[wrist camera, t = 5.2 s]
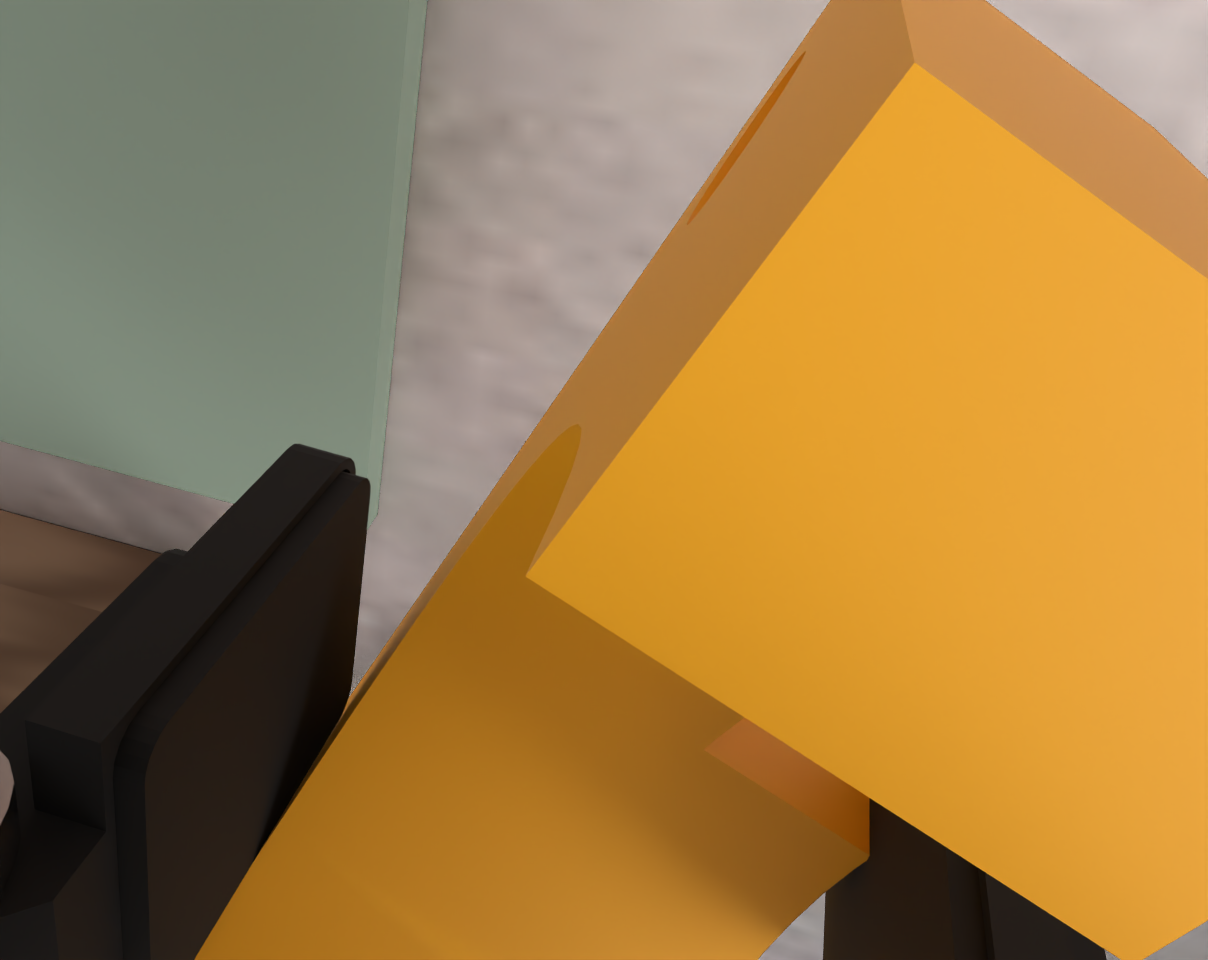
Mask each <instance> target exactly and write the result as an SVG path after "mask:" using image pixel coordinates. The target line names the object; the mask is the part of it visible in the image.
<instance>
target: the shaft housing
mask: <svg viewBox="0 0 1208 960" xmlns="http://www.w3.org/2000/svg"><path fill="white" fill-rule="evenodd" d="M160 555H162V554H160V553H156V552H152V551H149V550H145V549H141V548H138V547H134V546H130V545H127V544H123V543H119V542H116V541H112V540H108V539H105V538H101V537H97V536H94V535H90V534H86V533H83V532H79V531H75V530H72V529H68V528H64V527H61V526H57V525H54V524H50V523H46V522H43V521H39V520H35V519H32V518H28V517H24V516H21V515H17V514H13V513H10V512H6V511H2V510H0V713H1V712H2V711H3V710H4V709H5V708H6V707H7V706H8V705H9V704H10V703H11V702H12V701H13V700H14V699H15V698H16V697H17V696H18V695H19V694H20V693H21V692H22V691H23V690H24V689H25V688H26V687H27V686H28V685H29V684H30V683H31V682H32V681H33V680H34V679H35V678H36V677H37V676H38V675H39V674H40V673H41V672H42V671H43V670H44V669H45V668H46V667H47V666H48V665H49V664H50V663H51V662H52V661H53V660H54V659H55V658H56V657H57V656H58V655H59V654H60V653H61V652H63V651H64V650H65V649H66V648H67V647H68V646H69V645H70V644H71V643H72V642H73V641H74V640H75V639H76V638H77V637H78V636H79V635H80V634H81V633H82V632H83V631H84V630H85V629H86V628H87V627H88V626H89V625H90V624H91V623H92V622H93V621H94V620H95V619H96V618H97V617H98V616H99V615H100V614H101V613H102V612H103V611H104V610H105V609H106V608H107V607H108V606H109V605H110V604H111V603H112V602H113V601H114V600H115V599H116V598H117V597H118V596H119V595H120V594H121V593H122V592H123V591H124V590H125V589H126V588H127V587H128V586H129V585H130V584H131V583H132V582H133V581H134V580H135V579H136V578H137V577H138V576H139V575H140V574H141V573H142V572H143V571H144V570H145V569H146V568H147V567H148V566H149V565H150V564H151V563H152V562H153V561H154V560H155V559H157V558H158V557H159V556H160Z"/></svg>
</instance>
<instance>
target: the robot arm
mask: <svg viewBox="0 0 1208 960" xmlns="http://www.w3.org/2000/svg"><path fill="white" fill-rule="evenodd" d="M370 493H371V485H370V481H369V480H368V478H365V477H361V476H357V475H356V468H355V463H354V461H353V460H352V459H351V458H349V457H345V456H342V455H338V454H334V453H331V452H327V451H324V450H320V449H317V448H313V447H310V446H306V445H303V444H293V445H292V446H290V447H289V448H288V449H287V450H286V451H285V452H284V453H283V454H282V455H281V456H280V457H279V458H278V459H277V460H276V461H275V462H274V463H273V464H272V465H271V466H270V467H269V468H268V469H267V470H266V471H265V472H264V474H263V475H262V476H261V477H260V478H259V479H258V480H257V481H256V482H255V483H254V484H253V485H252V486H251V487H250V488H249V489H248V490H247V491H246V492H245V493H244V494H243V495H242V496H241V497H240V498H239V499H238V500H237V501H236V502H235V503H234V504H233V505H232V507H231V508H230V509H229V510H228V511H227V512H226V513H225V514H224V515H223V516H222V517H221V518H220V519H219V520H218V521H217V522H216V523H215V524H214V525H213V526H212V527H211V528H210V529H209V530H208V531H207V532H206V533H205V534H204V535H203V536H202V537H201V538H200V539H199V541H198V542H197V543H196V544H195V545H194V546H193V547H192V548H191V549H190V550H189V551H188V552H186V551H183V550H180V549H173V550H169V551H166V552H164V553H163V554H162V555H160V556H159V557H158V558H157V559H155V560H154V561H153V562H152V563H151V564H150V565H149V566H148V567H147V568H146V569H145V570H144V571H143V572H142V573H141V574H140V575H139V576H138V577H137V578H136V579H135V580H134V581H133V582H132V583H131V584H130V585H129V586H128V587H127V588H126V589H125V590H124V591H123V592H122V593H121V594H120V595H119V596H118V597H117V598H116V599H115V600H114V601H113V602H112V603H111V604H110V605H109V606H108V607H107V608H106V609H105V610H104V611H103V612H102V613H101V614H100V615H99V616H98V617H97V618H96V619H95V620H94V621H93V622H92V623H91V624H90V625H89V626H88V627H87V628H86V629H85V630H84V631H83V632H82V633H81V634H80V635H79V636H78V637H77V638H76V639H75V640H74V641H73V642H72V643H71V644H70V645H69V646H68V647H67V648H66V649H65V650H64V651H63V652H61V653H60V654H59V655H58V656H57V657H56V658H55V659H54V660H53V661H52V662H51V663H50V664H49V665H48V666H47V667H46V668H45V669H44V670H43V671H42V672H41V673H40V674H39V675H38V676H37V677H36V678H35V679H34V680H33V681H32V682H31V683H30V684H29V685H28V686H27V687H26V688H25V689H24V690H23V691H22V692H21V693H20V694H19V695H18V696H17V697H16V698H15V699H14V700H13V701H12V702H11V703H10V704H9V705H8V706H7V707H6V708H5V709H4V710H3V711H2V712H1V713H0V960H194V959H195V958H196V956H197V954H198V953H199V951H200V949H201V948H202V946H203V944H204V943H205V941H206V939H207V938H208V936H209V934H210V933H211V931H212V929H213V928H214V926H215V925H216V923H217V921H218V920H219V918H220V916H221V915H222V913H223V911H224V910H225V908H226V906H227V905H228V903H229V901H230V900H231V898H232V896H233V895H234V893H235V892H236V890H237V888H238V887H239V885H240V883H241V882H242V880H243V878H244V877H245V875H246V873H247V872H248V870H249V868H250V867H251V865H252V863H253V862H254V860H255V859H256V857H257V855H258V854H259V852H260V850H261V849H262V847H263V845H264V844H265V842H266V840H267V839H268V837H269V835H270V834H271V832H272V830H273V829H274V827H275V826H276V824H277V822H278V821H279V819H280V817H281V816H282V814H283V812H284V811H285V809H286V807H287V806H288V804H289V802H290V801H291V799H292V797H293V796H294V794H295V793H296V791H297V789H298V788H299V786H300V784H301V783H302V781H303V779H304V778H305V776H306V774H307V773H308V771H309V769H310V768H311V766H312V764H313V763H314V761H315V760H316V758H317V756H318V755H319V753H320V751H321V750H322V748H323V746H324V745H325V743H326V741H327V740H328V738H329V736H330V735H331V733H332V732H333V730H334V728H335V727H336V725H337V723H338V722H339V720H340V718H341V716H342V714H343V711H344V709H345V707H346V704H347V701H348V698H349V694H350V690H351V684H352V675H353V665H354V655H355V645H356V635H357V625H358V615H359V605H360V595H361V584H362V574H363V564H364V554H365V544H366V534H367V524H368V514H369V504H370ZM869 846H870V856H869V857H868V859H867V861H865V862H864V863H862V864H861V865H860V866H858V867H857V868H855V869H854V870H852V871H851V872H850V873H849V874H847V875H846V876H845V877H844V878H842V879H841V880H840V881H839V882H837V883H836V884H835V885H834V886H832V887H831V888H830V889H828V890H827V891H826V897H825V923H824V949H823V960H1107V959H1106V955H1105V950H1104V948H1102V947H1101V946H1099V945H1097V944H1096V943H1094V942H1093V941H1091V940H1090V939H1088V938H1087V937H1085V936H1083V935H1082V934H1080V933H1079V932H1077V931H1076V930H1074V929H1073V928H1071V927H1070V926H1068V925H1066V924H1065V923H1063V922H1062V921H1060V920H1059V919H1057V918H1056V917H1054V916H1052V915H1051V914H1049V913H1048V912H1046V911H1045V910H1043V909H1042V908H1040V907H1038V906H1037V905H1035V904H1034V903H1032V902H1031V901H1029V900H1028V899H1026V898H1024V897H1023V896H1021V895H1020V894H1018V893H1017V892H1015V891H1014V890H1012V889H1010V888H1009V887H1007V886H1006V885H1004V884H1003V883H1001V882H1000V881H998V880H996V879H995V878H993V877H992V876H990V875H989V874H987V873H986V872H984V871H982V870H981V869H979V868H978V867H976V866H975V865H973V864H972V863H970V862H969V861H967V860H965V859H964V858H962V857H961V856H959V855H958V854H956V853H955V852H953V851H951V850H950V849H948V848H947V847H945V846H944V845H942V844H941V843H939V842H937V841H936V840H934V839H933V838H931V837H930V836H928V835H927V834H925V833H923V832H922V831H920V830H919V829H917V828H916V827H914V826H913V825H911V824H909V823H908V822H906V821H905V820H903V819H902V818H900V817H899V816H897V815H895V814H894V813H892V812H891V811H889V810H888V809H886V808H885V807H883V806H881V805H880V804H878V803H877V802H875V801H874V800H872V799H871V798H869Z"/></svg>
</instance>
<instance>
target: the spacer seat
mask: <svg viewBox="0 0 1208 960" xmlns="http://www.w3.org/2000/svg"><path fill="white" fill-rule="evenodd" d="M426 10H427V0H0V441H2V442H6V443H10V444H13V445H17V446H21V447H25V448H28V449H32V450H36V451H39V452H43V453H47V454H51V455H54V456H58V457H62V458H65V459H69V460H73V461H77V462H80V463H84V464H88V465H91V466H95V467H99V468H102V469H106V470H110V471H114V472H117V473H121V474H125V475H128V476H132V477H136V478H140V479H143V480H147V481H151V482H154V483H158V484H162V485H166V486H169V487H173V488H177V489H180V490H184V491H188V492H192V493H195V494H199V495H203V496H206V497H210V498H214V499H217V500H221V501H225V502H229V503H232V504H234V503H235V502H236V501H237V500H238V499H239V498H240V497H241V496H242V495H243V494H244V493H245V492H246V491H247V490H248V489H249V488H250V487H251V486H252V485H253V484H254V483H255V482H256V481H257V480H258V479H259V478H260V477H261V476H262V475H263V474H264V472H265V471H266V470H267V469H268V468H269V467H270V466H271V465H272V464H273V463H274V462H275V461H276V460H277V459H278V458H279V457H280V456H281V455H282V454H283V453H284V452H285V451H286V450H287V449H288V448H289V447H290V446H292V445H293V444H303V445H306V446H310V447H313V448H317V449H320V450H324V451H327V452H331V453H334V454H338V455H342V456H345V457H349V458H351V459H352V460H353V461H354V463H355V468H356V475H357V476H361V477H365V478H368V480H369V481H370V485H371V493H370V504H369V514H368V524H367V530H368V528H369V527H370V525H371V524H372V522H373V521H374V519H375V518H376V516H377V515H378V505H379V495H380V485H381V474H382V464H383V454H384V443H385V433H386V423H387V413H388V402H389V392H390V382H391V371H392V361H393V351H394V340H395V330H396V320H397V309H398V299H399V289H400V278H401V268H402V258H403V247H404V237H405V227H406V217H407V206H408V196H409V186H410V175H411V165H412V155H413V144H414V134H415V124H416V113H417V103H418V93H419V82H420V72H421V62H422V52H423V41H424V31H425V21H426Z"/></svg>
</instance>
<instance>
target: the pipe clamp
mask: <svg viewBox="0 0 1208 960" xmlns="http://www.w3.org/2000/svg"><path fill="white" fill-rule="evenodd" d="M869 798H871V799H872V800H874V801H875V802H877V803H878V804H880V805H881V806H883V807H885V808H886V809H888V810H889V811H891V812H892V813H894V814H895V815H897V816H899V817H900V818H902V819H903V820H905V821H906V822H908V823H909V824H911V825H913V826H914V827H916V828H917V829H919V830H920V831H922V832H923V833H925V834H927V835H928V836H930V837H931V838H933V839H934V840H936V841H937V842H939V843H941V844H942V845H944V846H945V847H947V848H948V849H950V850H951V851H953V852H955V853H956V854H958V855H959V856H961V857H962V858H964V859H965V860H967V861H969V862H970V863H972V864H973V865H975V866H976V867H978V868H979V869H981V870H982V871H984V872H986V873H987V874H989V875H990V876H992V877H993V878H995V879H996V880H998V881H1000V882H1001V883H1003V884H1004V885H1006V886H1007V887H1009V888H1010V889H1012V890H1014V891H1015V892H1017V893H1018V894H1020V895H1021V896H1023V897H1024V898H1026V899H1028V900H1029V901H1031V902H1032V903H1034V904H1035V905H1037V906H1038V907H1040V908H1042V909H1043V910H1045V911H1046V912H1048V913H1049V914H1051V915H1052V916H1054V917H1056V918H1057V919H1059V920H1060V921H1062V922H1063V923H1065V924H1066V925H1068V926H1070V927H1071V928H1073V929H1074V930H1076V931H1077V932H1079V933H1080V934H1082V935H1083V936H1085V937H1087V938H1088V939H1090V940H1091V941H1093V942H1094V943H1096V944H1097V945H1099V946H1101V947H1102V948H1104V949H1105V950H1107V951H1108V952H1110V953H1111V954H1113V955H1115V956H1116V957H1118V958H1119V959H1121V960H1143V959H1144V958H1146V957H1148V956H1149V955H1151V954H1153V953H1154V952H1156V951H1158V950H1159V949H1161V948H1163V947H1164V946H1166V945H1168V944H1169V943H1171V942H1173V941H1174V940H1176V939H1178V938H1179V937H1181V936H1183V935H1184V934H1186V933H1188V932H1189V931H1191V930H1193V929H1195V928H1196V927H1198V926H1200V925H1201V924H1203V923H1205V922H1206V921H1208V179H1207V178H1206V177H1205V176H1204V175H1203V174H1202V173H1201V172H1200V171H1199V170H1198V169H1197V168H1196V167H1195V166H1194V165H1193V164H1192V163H1191V162H1189V161H1188V160H1187V159H1186V158H1185V157H1184V156H1183V155H1182V154H1181V153H1180V152H1179V151H1178V150H1177V149H1176V148H1175V147H1174V146H1173V145H1172V144H1171V143H1169V142H1168V141H1167V140H1166V139H1165V138H1164V137H1163V136H1162V135H1161V134H1160V133H1159V132H1158V131H1157V130H1156V129H1155V128H1154V127H1152V126H1151V125H1150V124H1148V123H1147V122H1146V121H1144V120H1143V119H1142V118H1140V117H1139V116H1138V115H1136V114H1135V113H1134V112H1132V111H1131V110H1130V109H1128V108H1127V107H1126V106H1125V105H1123V104H1122V103H1121V102H1119V101H1118V100H1117V99H1115V98H1114V97H1113V96H1111V95H1110V94H1109V93H1107V92H1106V91H1105V90H1103V89H1102V88H1101V87H1099V86H1098V85H1097V84H1095V83H1094V82H1093V81H1091V80H1090V79H1089V78H1087V77H1086V76H1085V75H1083V74H1082V73H1081V72H1079V71H1078V70H1077V69H1075V68H1074V67H1073V66H1072V65H1070V64H1069V63H1068V62H1066V61H1065V60H1064V59H1062V58H1061V57H1060V56H1058V55H1057V54H1056V53H1054V52H1053V51H1052V50H1050V49H1049V48H1048V47H1046V46H1045V45H1044V44H1042V43H1041V42H1040V41H1038V40H1037V39H1036V38H1034V37H1033V36H1032V35H1030V34H1029V33H1028V32H1026V31H1025V30H1024V29H1022V28H1021V27H1020V26H1018V25H1017V24H1016V23H1015V22H1013V21H1012V20H1011V19H1009V18H1008V17H1007V16H1005V15H1004V14H1003V13H1001V12H1000V11H999V10H997V9H996V8H995V7H993V6H992V5H991V4H989V3H988V2H987V1H985V0H830V2H829V3H828V5H827V6H826V8H825V9H824V11H823V12H822V13H821V15H820V16H819V18H818V19H817V21H816V22H815V24H814V25H813V27H812V28H811V29H810V31H809V32H808V34H807V35H806V37H805V38H804V40H803V41H802V42H801V44H800V45H799V47H798V48H797V50H796V51H795V53H794V54H793V55H792V57H791V58H790V60H789V61H788V63H787V64H786V66H785V67H784V69H783V70H782V71H781V73H780V74H779V76H778V77H777V79H776V80H775V82H774V83H773V84H772V86H771V87H770V89H769V90H768V92H767V93H766V95H765V96H764V97H763V99H762V100H761V102H760V103H759V105H758V106H757V108H756V109H755V110H754V112H753V113H752V115H751V116H750V118H749V119H748V121H747V122H746V124H745V125H744V126H743V128H742V129H741V131H740V132H739V134H738V135H737V137H736V138H735V139H734V141H733V142H732V144H731V145H730V147H729V148H728V150H727V151H726V152H725V154H724V155H723V157H722V158H721V160H720V161H719V163H718V164H717V166H716V167H715V168H714V170H713V171H712V173H711V174H710V176H709V177H708V179H707V180H706V181H705V183H704V184H703V186H702V187H701V189H700V190H699V192H698V193H697V194H696V196H695V197H694V199H693V200H692V202H691V203H690V205H689V206H688V208H687V209H686V210H685V212H684V213H683V215H682V216H681V218H680V219H679V221H678V222H677V223H676V225H675V226H674V228H673V229H672V231H671V232H670V234H669V235H668V236H667V238H666V239H665V241H664V242H663V244H662V245H661V247H660V248H659V250H658V251H657V252H656V254H655V255H654V257H653V258H652V260H651V261H650V263H649V264H648V265H647V267H646V268H645V270H644V271H643V273H642V274H641V276H640V277H639V278H638V280H637V281H636V283H635V284H634V286H633V287H632V289H631V290H630V291H629V293H628V294H627V296H626V297H625V299H624V300H623V302H622V303H621V305H620V306H619V307H618V309H617V310H616V312H615V313H614V315H613V316H612V318H611V319H610V320H609V322H608V323H607V325H606V326H605V328H604V329H603V331H602V332H601V333H600V335H599V336H598V338H597V339H596V341H595V342H594V344H593V345H592V347H591V348H590V349H589V351H588V352H587V354H586V355H585V357H584V358H583V360H582V361H581V362H580V364H579V365H578V367H577V368H576V370H575V371H574V373H573V374H572V375H571V377H570V378H569V380H568V381H567V383H566V384H565V386H564V387H563V389H562V390H561V391H560V393H559V394H558V396H557V397H556V399H555V400H554V402H553V403H552V404H551V406H550V407H549V409H548V410H547V412H546V413H545V415H544V416H543V417H542V419H541V420H540V422H539V423H538V425H537V426H536V428H535V429H534V431H533V432H532V433H531V435H530V436H529V438H528V439H527V441H526V442H525V444H524V445H523V446H522V448H521V449H520V451H519V452H518V454H517V455H516V457H515V458H514V459H513V461H512V462H511V464H510V465H509V467H508V468H507V470H506V471H505V473H504V474H503V475H502V477H501V478H500V480H499V481H498V483H497V484H496V486H495V487H494V488H493V490H492V491H491V493H490V494H489V496H488V497H487V499H486V500H485V501H484V503H483V504H482V506H481V507H480V509H479V510H478V512H477V513H476V514H475V516H474V517H473V519H472V520H471V522H470V523H469V525H468V526H467V528H466V529H465V530H464V532H463V533H462V535H461V536H460V538H459V539H458V541H457V542H456V543H455V545H454V546H453V548H452V549H451V551H450V552H449V554H448V555H447V556H446V558H445V559H444V561H443V562H442V564H441V565H440V567H439V568H438V570H437V571H436V572H435V574H434V575H433V577H432V578H431V580H430V581H429V583H428V584H427V585H426V587H425V588H424V590H423V591H422V593H421V594H420V596H419V597H418V598H417V600H416V601H415V603H414V604H413V606H412V607H411V609H410V610H409V612H408V613H407V614H406V616H405V617H404V619H403V620H402V622H401V623H400V625H399V626H398V627H397V629H396V630H395V632H394V633H393V635H392V636H391V638H390V639H389V640H388V642H387V643H386V645H385V646H384V648H383V649H382V651H381V652H380V654H379V655H378V656H377V658H376V659H375V661H374V662H373V664H372V665H371V667H370V668H369V669H368V671H367V672H366V674H365V675H364V677H363V678H362V680H361V681H360V682H359V684H358V685H357V687H356V688H355V690H354V691H353V693H352V694H351V696H350V697H349V698H348V701H347V704H346V707H345V709H344V711H343V714H342V716H341V718H340V720H339V722H338V723H337V725H336V727H335V728H334V730H333V732H332V733H331V735H330V736H329V738H328V740H327V741H326V743H325V745H324V746H323V748H322V750H321V751H320V753H319V755H318V756H317V758H316V760H315V761H314V763H313V764H312V766H311V768H310V769H309V771H308V773H307V774H306V776H305V778H304V779H303V781H302V783H301V784H300V786H299V788H298V789H297V791H296V793H295V794H294V796H293V797H292V799H291V801H290V802H289V804H288V806H287V807H286V809H285V811H284V812H283V814H282V816H281V817H280V819H279V821H278V822H277V824H276V826H275V827H274V829H273V830H272V832H271V834H270V835H269V837H268V839H267V840H266V842H265V844H264V845H263V847H262V849H261V850H260V852H259V854H258V855H257V857H256V859H255V860H254V862H253V863H252V865H251V867H250V868H249V870H248V872H247V873H246V875H245V877H244V878H243V880H242V882H241V883H240V885H239V887H238V888H237V890H236V892H235V893H234V895H233V896H232V898H231V900H230V901H229V903H228V905H227V906H226V908H225V910H224V911H223V913H222V915H221V916H220V918H219V920H218V921H217V923H216V925H215V926H214V928H213V929H212V931H211V933H210V934H209V936H208V938H207V939H206V941H205V943H204V944H203V946H202V948H201V949H200V951H199V953H198V954H197V956H196V958H195V959H194V960H758V959H759V957H760V956H761V955H762V954H763V953H764V952H765V951H766V950H767V948H768V947H769V946H770V945H771V944H772V943H773V942H774V941H775V940H776V939H777V938H778V937H779V936H780V935H781V934H782V933H783V931H784V930H785V929H786V928H787V927H788V926H789V925H790V924H791V923H792V922H793V921H794V920H795V919H796V918H797V917H798V916H799V915H801V914H802V913H803V912H804V911H805V910H806V909H807V908H808V907H809V906H810V905H811V904H812V903H814V902H815V901H816V900H817V899H818V898H819V897H820V896H821V895H822V894H823V893H825V892H826V891H827V890H828V889H830V888H831V887H832V886H834V885H835V884H836V883H837V882H839V881H840V880H841V879H842V878H844V877H845V876H846V875H847V874H849V873H850V872H851V871H852V870H854V869H855V868H857V867H858V866H860V865H861V864H862V863H864V862H865V861H867V859H868V857H869V856H870V846H869Z"/></svg>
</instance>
